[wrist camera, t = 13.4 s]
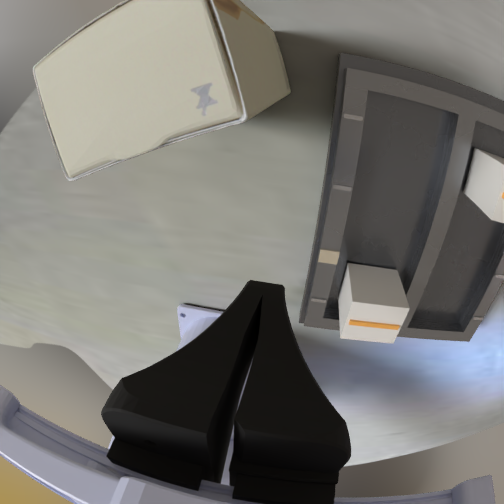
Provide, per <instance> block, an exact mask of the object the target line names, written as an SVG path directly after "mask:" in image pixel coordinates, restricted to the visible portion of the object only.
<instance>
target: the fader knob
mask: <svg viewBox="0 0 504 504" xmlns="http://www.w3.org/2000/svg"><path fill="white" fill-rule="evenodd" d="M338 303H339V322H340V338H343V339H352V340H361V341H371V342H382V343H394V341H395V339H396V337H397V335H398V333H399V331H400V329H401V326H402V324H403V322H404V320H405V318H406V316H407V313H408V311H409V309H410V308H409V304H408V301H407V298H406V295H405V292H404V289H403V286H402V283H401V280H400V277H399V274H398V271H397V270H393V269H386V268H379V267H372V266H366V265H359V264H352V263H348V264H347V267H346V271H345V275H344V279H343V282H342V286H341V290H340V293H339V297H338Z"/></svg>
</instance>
